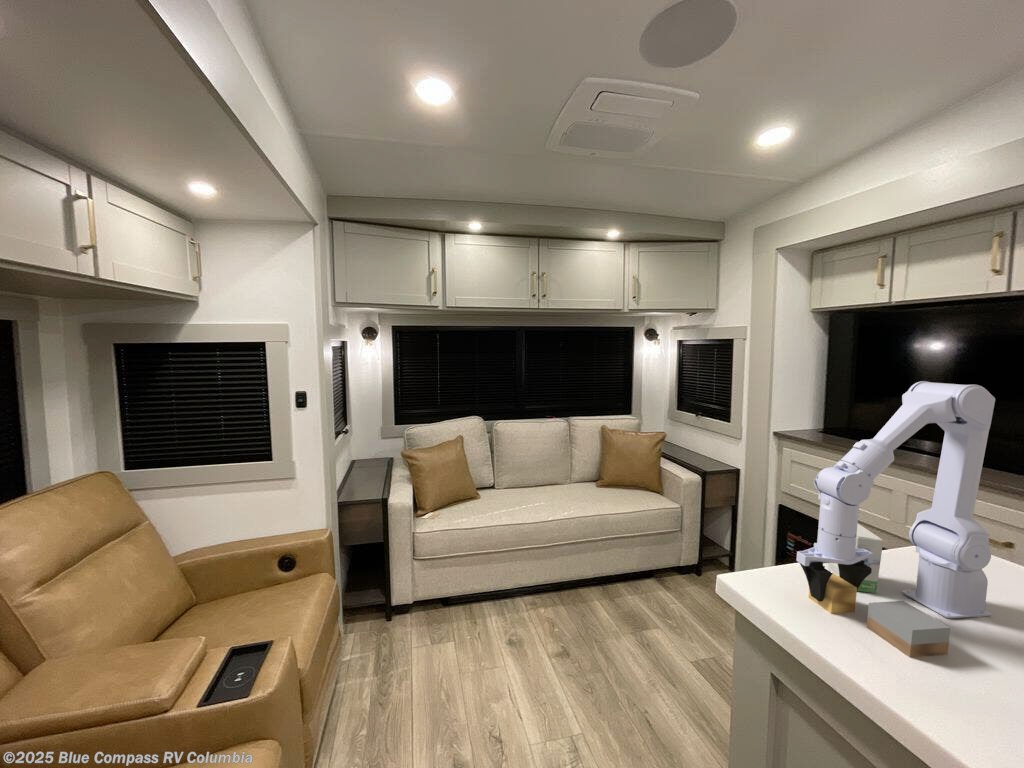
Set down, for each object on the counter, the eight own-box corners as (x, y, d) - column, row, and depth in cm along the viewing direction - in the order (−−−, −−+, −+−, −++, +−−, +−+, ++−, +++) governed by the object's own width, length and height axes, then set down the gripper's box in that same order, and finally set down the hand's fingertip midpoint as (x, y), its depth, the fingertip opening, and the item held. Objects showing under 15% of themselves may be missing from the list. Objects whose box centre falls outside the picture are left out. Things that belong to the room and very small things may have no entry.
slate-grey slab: (901, 613, 71) (903, 600, 71) (948, 641, 64) (950, 627, 64) (867, 616, 71) (868, 602, 70) (911, 644, 64) (912, 630, 63)
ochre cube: (830, 596, 80) (832, 573, 80) (854, 612, 75) (856, 587, 75) (808, 597, 79) (810, 574, 79) (830, 614, 74) (833, 589, 74)
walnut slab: (900, 626, 72) (902, 613, 71) (947, 656, 65) (948, 641, 64) (866, 629, 71) (867, 616, 71) (909, 659, 64) (910, 644, 64)
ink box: (826, 569, 90) (830, 519, 89) (852, 571, 89) (856, 521, 88) (850, 591, 82) (855, 536, 81) (879, 594, 81) (884, 539, 80)
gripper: (851, 520, 81) (845, 583, 82) (786, 522, 79) (781, 587, 80) (887, 536, 74) (880, 605, 75) (816, 539, 72) (811, 609, 73)
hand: (831, 597), depth 77 cm, fingers open, 6 cm apart
